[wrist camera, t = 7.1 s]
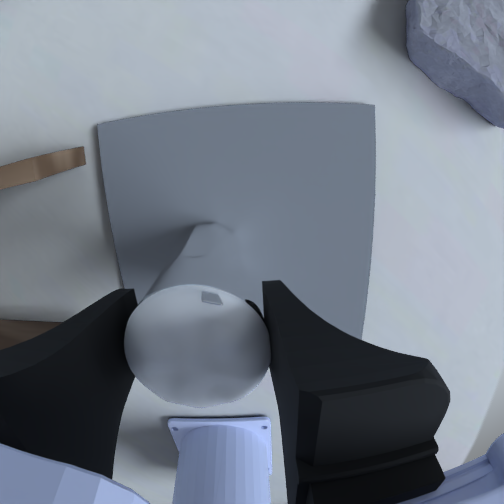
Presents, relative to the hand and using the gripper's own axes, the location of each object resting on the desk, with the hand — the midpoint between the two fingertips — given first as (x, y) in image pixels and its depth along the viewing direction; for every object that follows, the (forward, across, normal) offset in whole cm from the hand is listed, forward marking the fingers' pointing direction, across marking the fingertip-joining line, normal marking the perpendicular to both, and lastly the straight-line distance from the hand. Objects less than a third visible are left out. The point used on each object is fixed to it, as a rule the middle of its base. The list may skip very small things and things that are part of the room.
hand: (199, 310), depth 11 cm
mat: (+7, -2, 0) cm, 7 cm away
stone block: (+7, -16, -14) cm, 22 cm away
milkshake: (+6, 0, 0) cm, 6 cm away
